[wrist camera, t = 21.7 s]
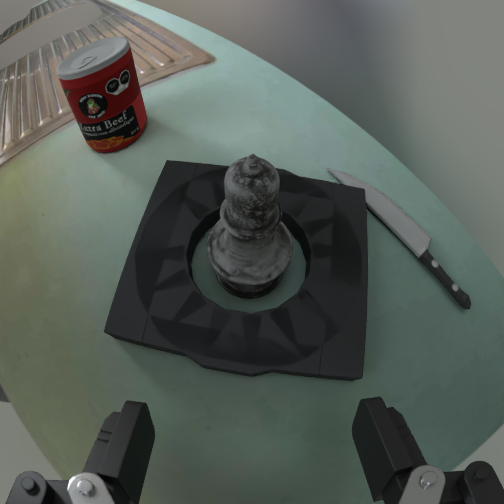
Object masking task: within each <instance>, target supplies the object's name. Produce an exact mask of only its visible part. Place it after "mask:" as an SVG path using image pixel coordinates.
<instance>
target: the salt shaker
mask: <svg viewBox="0 0 504 504" xmlns="http://www.w3.org/2000/svg"><path fill="white" fill-rule="evenodd" d="M224 185H225V198H226V199H225V200H224V201H223V203H222V205H221V210H220V217H221V219H220V220H219V221H218V222H217V223H216V224H215V225H214V226H213V228H212V230H211V232H210V234H209V236H208V241H207V252H208V257H209V260H210V262H211V264H212V266H213V267H214V268H215V270H216V275H217V278H218V280H219V282H220V284H221V285H222V286H223V287H224V288H225V290H227V291H228V292H230V293H231V294H233V295H235V296H238V297H241V298H249V299H251V298H258V297H261V296H264V295H266V294H268V293H269V292H271V291H272V290H273V289H275V287H276V286H277V285H278V283H279V282H280V280H281V277H282V274H283V271H284V270H285V269H286V267H287V266H288V265H289V263H290V260H291V257H292V254H293V241H292V238H291V234H290V232H289V231H288V229H287V227H286V225H285V224H284V223H283V222H281V219H282V210H281V206H280V204H279V202H278V194H279V187H280V179H279V175H278V172H277V170H276V169H275V167H274V166H273V165H272V164H270V163H269V162H268V161H266V160H264V159H262V158H259V157H257V156H256V155H254V154H252V155H250V156H249V157H245V158H242V159H239V160H238V161H236V162H235V163H233V164H232V165H231V166H230V167H229V168H228V170H227V172H226V175H225V180H224Z"/></svg>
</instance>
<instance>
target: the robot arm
mask: <svg viewBox="0 0 504 504" xmlns="http://www.w3.org/2000/svg"><path fill="white" fill-rule="evenodd" d="M352 436H353V440H354V443H355V446H356V449H357V452H358V455H359V458H360V461H361V464H362V467H363V470H364V473H365V476H366V479H367V482H368V485H369V488H370V491H371V495H372V498H373V501H374V502H376V501H380V500H384V503H385V504H504V489H503V487H502V485H501V483H500V481H499V479H498V477H497V475H496V473H495V471H494V469H493V468H492V466H491V465H489V464H488V463H486V462H484V461H475V462H473V463H471V464H469V465H468V467H467V468H466V469H465V470H464V471H453V472H442V471H441V470H440V469H439V468H438V467H436V466H433V465H428V464H427V463H426V461H425V459H424V457H423V455H422V453H421V451H420V449H419V447H418V445H417V443H416V441H415V439H414V437H413V435H412V434H411V431H410V429H409V427H407V424H406V422H405V420H404V418H403V416H402V414H400V413H399V412H398V411H397V410H396V409H394V408H393V407H390V408H387V407H386V405H385V403H384V401H383V399H382V398H381V397H374V398H367V399H361V400H360V403H359V406H358V409H357V412H356V415H355V418H354V421H353V425H352ZM154 440H155V430H154V425H153V422H152V419H151V416H150V412H149V409H148V406H147V404H146V403H143V402H135V401H126V402H125V404H124V406H123V408H122V411H121V413H120V412H113V413H112V414H111V415H109V416H108V417H107V418H106V419H105V421H104V423H103V425H102V427H101V430H100V432H99V434H98V437H97V440H96V441H95V443H94V446H93V448H92V451H91V453H90V455H89V458H88V460H87V462H86V465H85V467H84V469H83V471H82V472H81V473H79V474H76V475H75V476H73V477H72V478H71V479H70V480H66V481H59V480H45V479H44V477H43V476H41V474H39V473H37V472H34V471H26V472H23V473H21V474H20V475H19V476H18V477H17V478H16V480H15V482H14V484H13V487H12V489H11V491H10V494H9V496H8V499H7V501H6V504H139V500H140V496H141V492H142V487H143V483H144V479H145V475H146V471H147V467H148V464H149V460H150V456H151V452H152V448H153V444H154Z"/></svg>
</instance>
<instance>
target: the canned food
mask: <svg viewBox="0 0 504 504" xmlns="http://www.w3.org/2000/svg"><path fill="white" fill-rule="evenodd" d="M57 73H58V78H59V80H60V83H61V86H62V88H63V91H64V93H65V95H66V98H67V100H68V102H69V105H70V107H71V109H72V112H73V114H74V116H75V118H76V121H77V123H78V125H79V127H80V129H81V132H82V134H83V136H84V138H85V140H86V142H87V144H88V145H89V146H90V147H91V148H92V149H93V150H95V151H97V152H102V153H106V152H113V151H116V150H119V149H122V148H124V147H126V146H128V145H129V144H131V143H132V142H134V141H135V140H136V139H137V138H138V137H139V136H140V135H141V134H142V132H143V131H144V129H145V127H146V120H147V115H146V110H145V106H144V102H143V98H142V94H141V90H140V86H139V82H138V78H137V74H136V69H135V65H134V60H133V56H132V52H131V48H130V44H129V42H128V39H127V38H125V37H108V38H104V39H100V40H97V41H94V42H92V43H89V44H87V45H85V46H83V47H81V48H79V49H77V50H76V51H74V52H73V53H71V54H70V55H69V56H67V57H66V58H65V59H64V60H63V61H62V62H61V63H60V64H59V66H58V68H57Z"/></svg>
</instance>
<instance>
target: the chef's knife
mask: <svg viewBox="0 0 504 504" xmlns="http://www.w3.org/2000/svg"><path fill="white" fill-rule="evenodd" d="M326 169H328V170H329V171H330V172H331V173H332V174H333V175H334V176H335V177H336V178H337V179H338V180H339V181H340V182H341V183H342V184H344V185H348V186H353V187H358V188H363V189H365V196H366V206H367V207H368V208H369V209H370V210H371V211H372V212H373V213H374V214H375V215H377V216H378V217H379V218H380V219H381V220H382V221H383V222H384V223H385V224H386V225H387V226H388V227H389V228H390V229H391V230H392V231H393V232H394V233H395V234H396V235H397V236H398V237H399V238H400V239H401V240H402V241H403V242H404V243H405V244H406V245H407V246H408V247H409V248H410V249H411V250H412V251H413V253H414V254H415V255H416V256H417V257H418V258H419V259H420V260H421V261H422V262H423V263H424V264H425V265H426V266H427V267H428V268H429V270H430V271H431V272H432V273H433V274H434V275H435V276H436V277H437V278H438V279H439V280H440V282H441V283H442V284H443V285H444V286H445V287H446V288H447V290H448V291H449V292H450V293H451V294H452V295H453V297H454V298H455V299H456V300H457V302H458V303H459V304H460V305H461V306H462V307H463V308H465V309H470V305H471V302H470V299H469V296H468V295H467V294H466V293H465V292H464V291H462V290H461V289H460V288H459V287H458V286H457V285H456V284H455V283H454V282H453V281H452V280H451V278H450V277H449V276H448V275H447V274H446V273H445V271H444V270H443V269H442V268H441V266H440V265H439V264H438V263H437V261H436V260H435V259H434V258H433V257H432V256H431V254H430V253H429V252H428V250H427V248H428V245H429V243H430V241H431V239H432V238H431V237H430V236H429V235H428V234H427V233H426V232H425V231H424V230H423V229H422V228H421V227H420V226H419V225H418V224H417V223H416V222H415V221H414V220H413V219H411V218H410V217H409V216H408V215H407V214H406V213H405V212H404V211H403V210H402V209H401V208H399V207H398V206H397V205H396V204H395V203H394V202H393V201H392V200H391V199H389V198H388V197H387V196H386V195H384V194H383V193H381V192H380V191H379V190H377V189H376V188H374V187H372V186H370V185H369V184H367V183H365V182H363V181H361V180H359V179H357V178H355V177H353V176H351V175H349V174H347V173H344V172H340V171H337V170H333V169H329V168H326Z"/></svg>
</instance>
